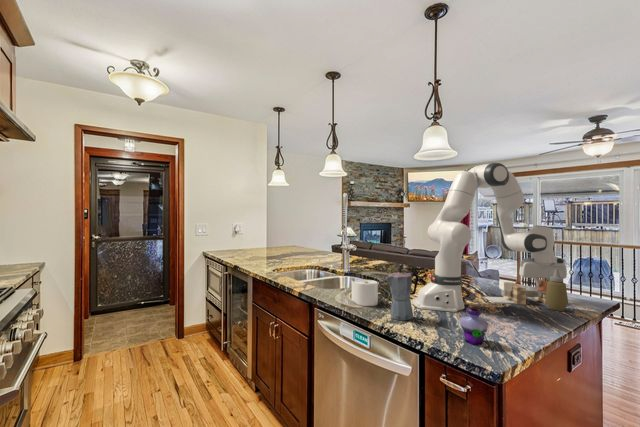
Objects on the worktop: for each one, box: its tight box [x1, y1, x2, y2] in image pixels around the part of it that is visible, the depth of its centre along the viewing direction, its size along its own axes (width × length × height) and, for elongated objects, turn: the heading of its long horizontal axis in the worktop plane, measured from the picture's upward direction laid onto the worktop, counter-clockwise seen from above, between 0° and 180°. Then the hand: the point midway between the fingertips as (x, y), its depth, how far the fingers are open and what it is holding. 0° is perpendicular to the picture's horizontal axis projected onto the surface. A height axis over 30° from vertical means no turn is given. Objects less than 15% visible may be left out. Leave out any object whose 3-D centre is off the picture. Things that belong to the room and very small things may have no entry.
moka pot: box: [385, 267, 420, 321], centre depth 122 cm, size 10×15×20 cm, turn 113°
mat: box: [484, 296, 517, 305], centre depth 147 cm, size 10×10×1 cm
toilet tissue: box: [350, 279, 379, 307], centre depth 141 cm, size 11×12×10 cm
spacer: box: [498, 279, 514, 291], centre depth 147 cm, size 4×4×4 cm
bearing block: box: [503, 282, 527, 306], centre depth 147 cm, size 4×12×8 cm, turn 175°
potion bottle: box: [459, 304, 490, 346], centre depth 98 cm, size 9×9×12 cm
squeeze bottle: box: [545, 269, 569, 312], centre depth 134 cm, size 8×8×18 cm
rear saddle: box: [534, 294, 547, 305], centre depth 146 cm, size 4×8×4 cm, turn 175°
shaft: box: [500, 278, 548, 298], centre depth 146 cm, size 20×4×8 cm, turn 85°
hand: (542, 287), depth 146 cm, fingers closed, pressing on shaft
